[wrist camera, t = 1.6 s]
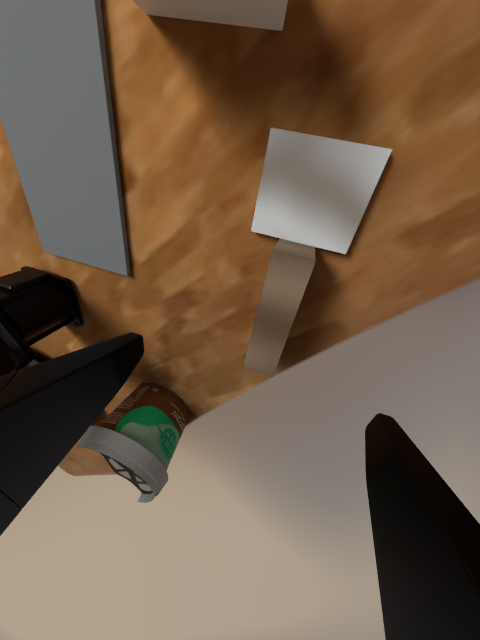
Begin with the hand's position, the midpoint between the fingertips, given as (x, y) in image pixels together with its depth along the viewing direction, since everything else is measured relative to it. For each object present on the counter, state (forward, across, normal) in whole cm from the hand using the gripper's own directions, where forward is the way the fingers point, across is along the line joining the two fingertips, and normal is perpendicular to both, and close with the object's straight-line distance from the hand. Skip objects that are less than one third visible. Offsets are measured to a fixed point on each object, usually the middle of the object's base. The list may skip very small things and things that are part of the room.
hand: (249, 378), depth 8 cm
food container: (+12, +10, +23) cm, 28 cm away
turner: (+12, 0, -1) cm, 12 cm away
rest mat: (+12, +20, -7) cm, 24 cm away
